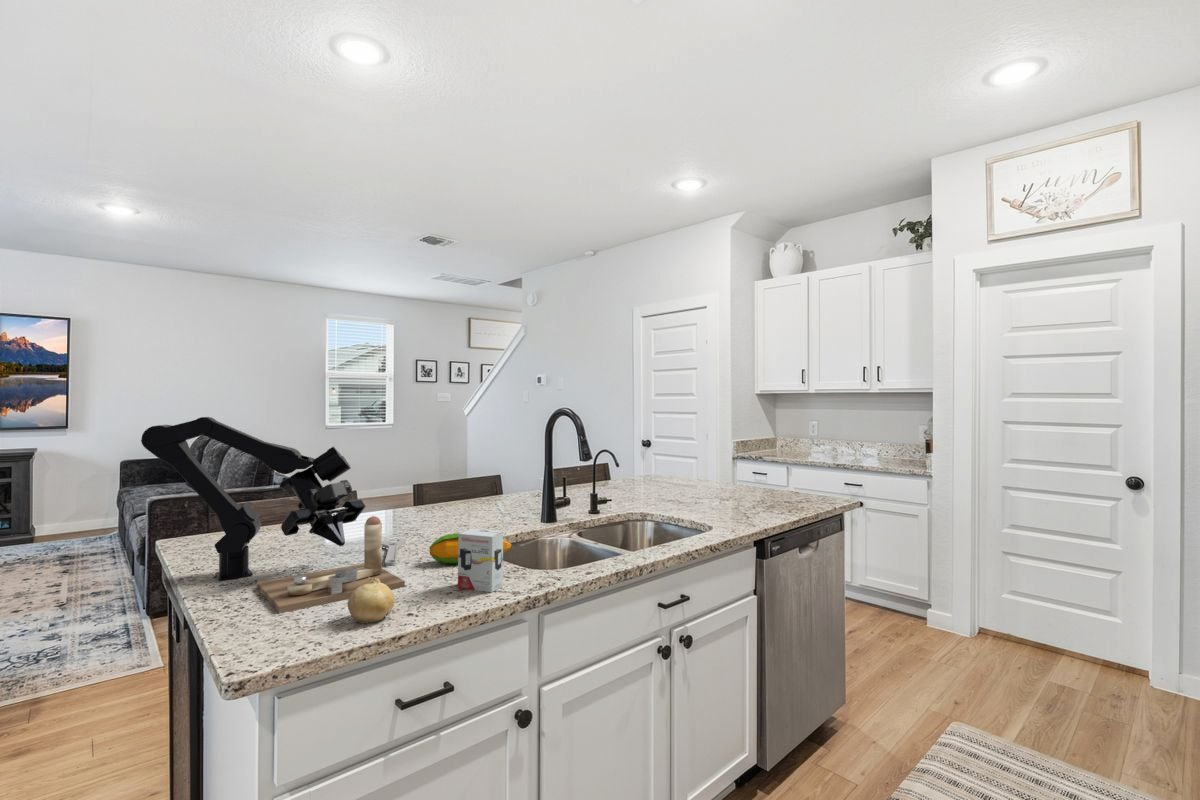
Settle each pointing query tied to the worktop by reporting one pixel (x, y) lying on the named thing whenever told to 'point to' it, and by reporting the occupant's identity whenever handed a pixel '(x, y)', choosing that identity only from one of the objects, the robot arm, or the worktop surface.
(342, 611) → the worktop surface
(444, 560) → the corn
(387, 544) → the adjustable wrench
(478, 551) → the ink box
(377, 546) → the wooden crank lever
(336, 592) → the keeper
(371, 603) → the onion
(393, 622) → the worktop surface
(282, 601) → the walnut board
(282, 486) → the robot arm
